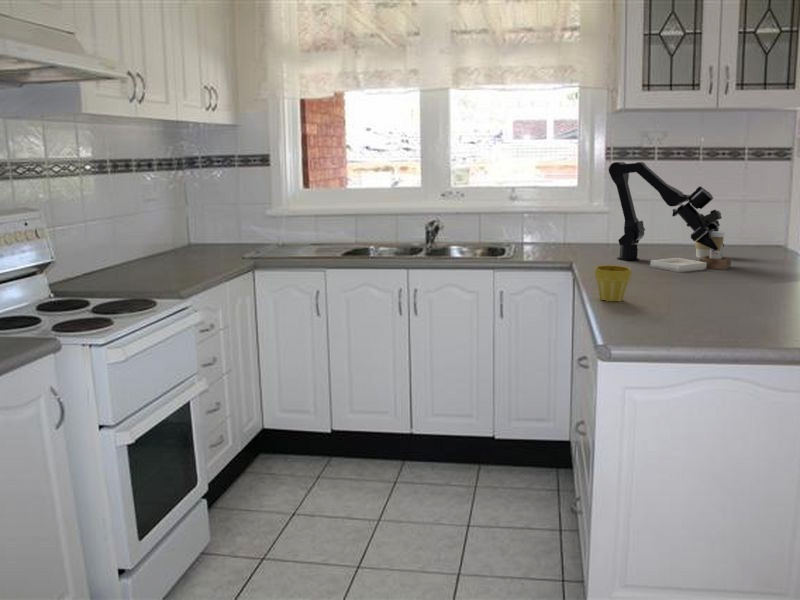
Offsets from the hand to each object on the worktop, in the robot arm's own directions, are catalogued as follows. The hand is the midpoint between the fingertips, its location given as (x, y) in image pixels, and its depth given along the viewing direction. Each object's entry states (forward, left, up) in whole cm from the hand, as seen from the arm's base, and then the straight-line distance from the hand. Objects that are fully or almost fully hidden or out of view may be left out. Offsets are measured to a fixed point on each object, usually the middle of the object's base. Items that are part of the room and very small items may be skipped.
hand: (720, 248), depth 290 cm
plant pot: (+27, -78, -7) cm, 82 cm away
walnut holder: (-1, -1, -7) cm, 7 cm away
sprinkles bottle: (-1, -1, -7) cm, 8 cm away
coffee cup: (-21, +16, -7) cm, 28 cm away
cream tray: (-6, -15, -7) cm, 17 cm away
